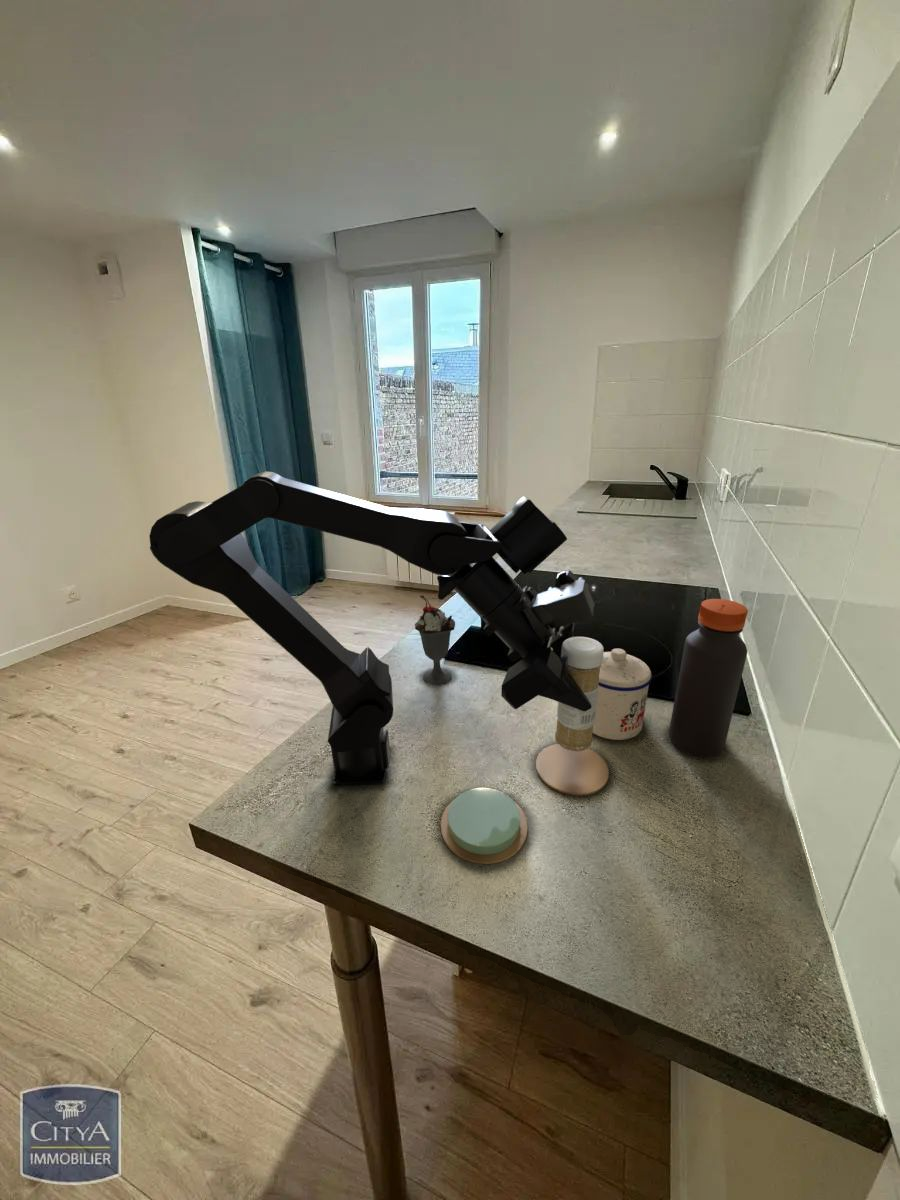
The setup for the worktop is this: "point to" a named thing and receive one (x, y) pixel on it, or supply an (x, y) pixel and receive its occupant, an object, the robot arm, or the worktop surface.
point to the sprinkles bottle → (585, 672)
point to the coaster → (572, 770)
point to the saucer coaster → (478, 857)
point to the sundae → (435, 641)
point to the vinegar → (709, 679)
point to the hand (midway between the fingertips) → (589, 697)
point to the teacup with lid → (621, 695)
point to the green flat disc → (484, 821)
